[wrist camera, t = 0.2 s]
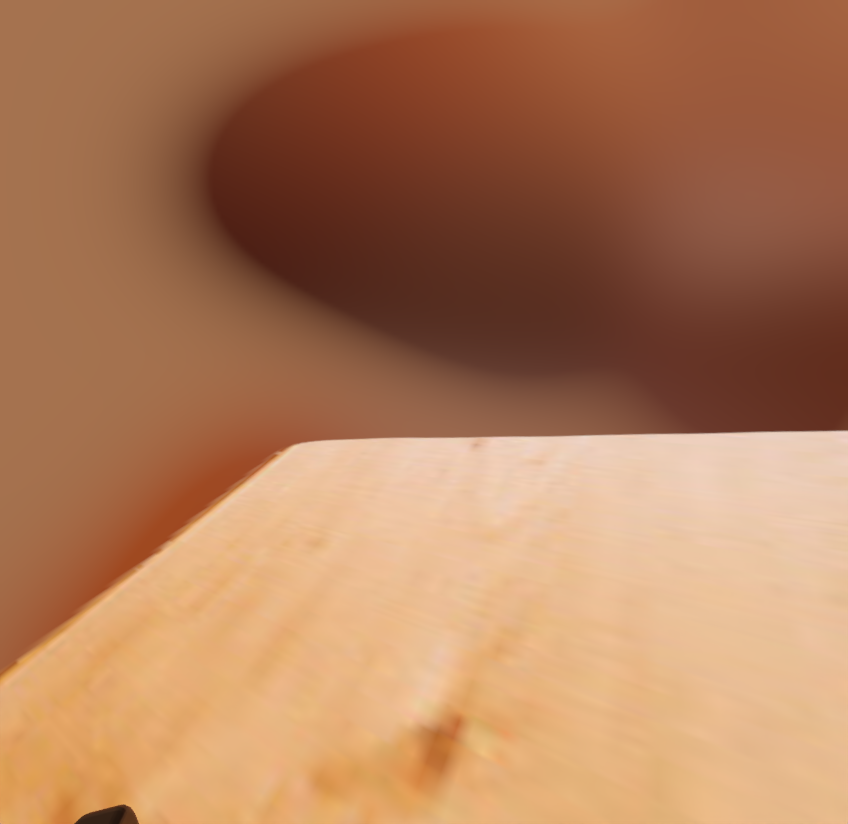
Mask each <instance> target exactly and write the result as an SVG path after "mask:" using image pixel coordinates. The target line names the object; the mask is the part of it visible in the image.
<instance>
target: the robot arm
mask: <svg viewBox="0 0 848 824" xmlns="http://www.w3.org/2000/svg"><path fill="white" fill-rule="evenodd" d="M75 824H139V823H138V820H137V817H136V815H135V813H134V811H133V810H132V809H131V807H129V806H126V805H118V806H114V807H110V808H106V809H103V810H99V811H95V812H91V813H88V814H86V815H84V816H82V817H81V818H80V819H79V820H78V821H77V822H76V823H75Z"/></svg>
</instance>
